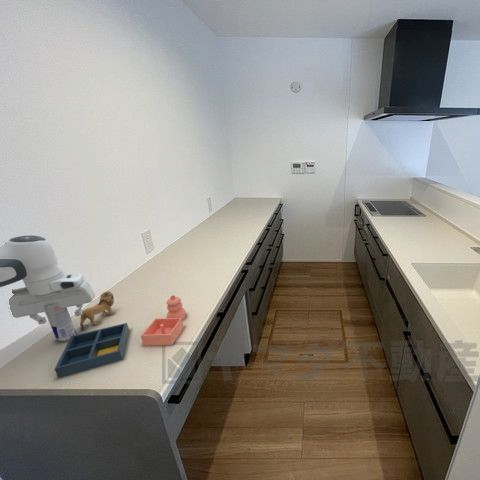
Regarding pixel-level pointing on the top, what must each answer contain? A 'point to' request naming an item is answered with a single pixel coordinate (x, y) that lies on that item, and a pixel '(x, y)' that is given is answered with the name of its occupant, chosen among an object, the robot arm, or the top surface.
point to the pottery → (166, 325)
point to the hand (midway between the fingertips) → (61, 318)
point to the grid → (93, 350)
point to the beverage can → (60, 322)
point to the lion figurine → (98, 308)
